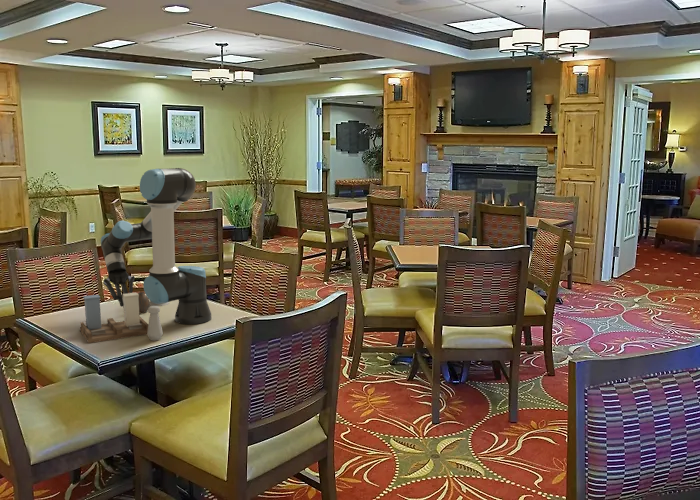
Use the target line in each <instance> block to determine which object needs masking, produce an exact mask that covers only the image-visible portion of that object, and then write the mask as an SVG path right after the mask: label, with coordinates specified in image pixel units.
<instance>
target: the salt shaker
mask: <svg viewBox="0 0 700 500" xmlns="http://www.w3.org/2000/svg"><path fill="white" fill-rule="evenodd" d="M160 311H161V309H160V306H150V307H149V308H148V311H147V312H148V313H149V317H148V324H149V325H148V331H147V334H146V335H147V337H148V339H149V340H150V341H152V342H154V341H159V340H161V339H162V337H163V335H164V334H163V332H164V331H163V328H162V323H161V319H160V314H159V313H160Z"/></svg>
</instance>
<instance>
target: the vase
mask: <svg viewBox="0 0 700 500" xmlns="http://www.w3.org/2000/svg"><path fill="white" fill-rule="evenodd" d="M137 294H139V297H138V299H139V314H143V313H147V312H148V308H149V307H150V300H149V299H148V297H147V296H146V294H145V291H144V292H143V291H140V292H137Z"/></svg>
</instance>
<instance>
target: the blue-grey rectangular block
mask: <svg viewBox="0 0 700 500" xmlns="http://www.w3.org/2000/svg"><path fill="white" fill-rule="evenodd" d="M83 300H84V312H85V313H84V314H85V325H86V327H87V328H88V330H91V329H98V328H101V324H102V319H101V318H102V316H101V296H100V295H99V294H92V295H83Z"/></svg>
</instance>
